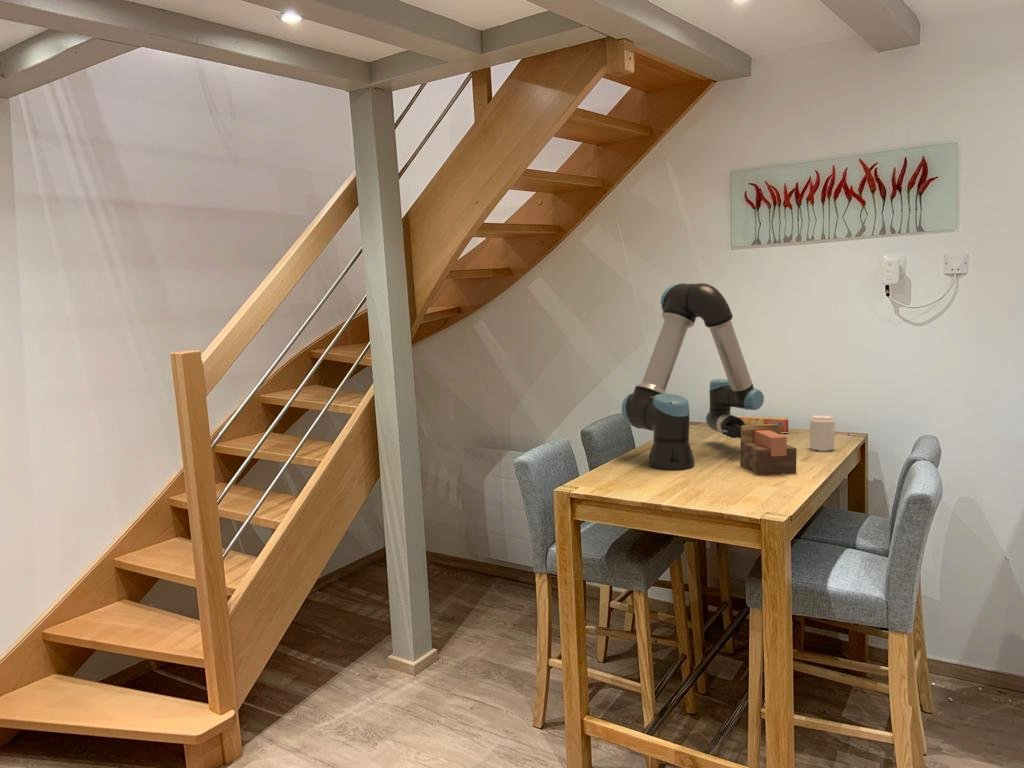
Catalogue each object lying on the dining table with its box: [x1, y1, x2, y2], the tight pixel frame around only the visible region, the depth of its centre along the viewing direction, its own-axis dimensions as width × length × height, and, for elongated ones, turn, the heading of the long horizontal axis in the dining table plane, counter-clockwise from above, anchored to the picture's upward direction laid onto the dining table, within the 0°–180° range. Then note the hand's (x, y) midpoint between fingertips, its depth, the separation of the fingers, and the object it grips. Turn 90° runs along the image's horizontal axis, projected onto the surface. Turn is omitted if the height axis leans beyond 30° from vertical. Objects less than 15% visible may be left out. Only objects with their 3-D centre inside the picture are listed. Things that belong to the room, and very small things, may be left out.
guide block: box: [740, 424, 798, 476], centre depth 260 cm, size 14×12×14 cm
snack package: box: [734, 414, 789, 433], centre depth 323 cm, size 21×7×7 cm, turn 70°
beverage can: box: [809, 414, 836, 452], centre depth 287 cm, size 8×8×12 cm
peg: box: [753, 429, 788, 457], centre depth 259 cm, size 14×5×6 cm, turn 8°
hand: (760, 438), depth 266 cm, fingers closed
